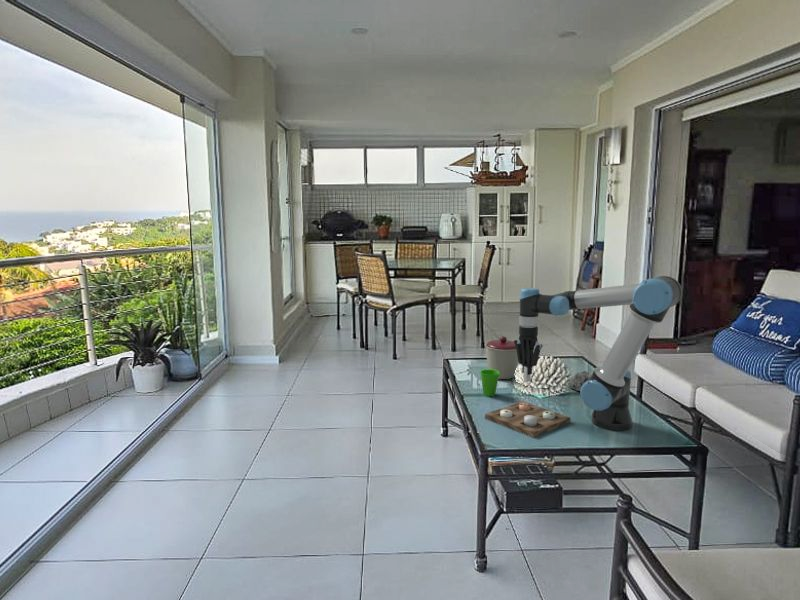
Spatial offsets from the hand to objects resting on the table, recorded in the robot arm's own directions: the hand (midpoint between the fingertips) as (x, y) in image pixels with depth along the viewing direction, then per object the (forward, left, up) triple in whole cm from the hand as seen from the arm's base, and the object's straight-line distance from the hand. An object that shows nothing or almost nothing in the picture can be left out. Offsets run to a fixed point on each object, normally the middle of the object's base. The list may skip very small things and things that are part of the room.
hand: (526, 381), depth 226 cm
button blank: (-12, +12, -12) cm, 21 cm away
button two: (-12, 0, -14) cm, 18 cm away
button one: (0, +12, -13) cm, 18 cm away
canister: (+39, -31, -14) cm, 51 cm away
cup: (+24, -5, -14) cm, 29 cm away
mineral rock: (+1, -44, -14) cm, 46 cm away
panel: (-6, +6, -14) cm, 16 cm away
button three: (0, 0, -13) cm, 13 cm away
